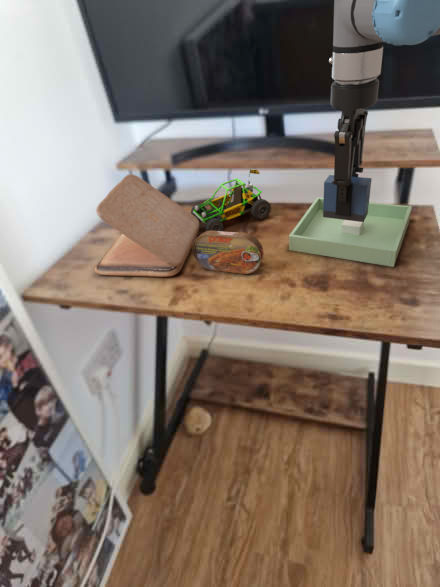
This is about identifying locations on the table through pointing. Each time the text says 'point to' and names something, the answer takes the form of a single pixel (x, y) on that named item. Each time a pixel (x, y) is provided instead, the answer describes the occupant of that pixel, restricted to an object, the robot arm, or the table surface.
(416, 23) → the robot arm
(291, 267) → the table surface
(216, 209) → the motor vehicle
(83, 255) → the table surface
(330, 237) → the tray
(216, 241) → the tin
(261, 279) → the table surface
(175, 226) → the case
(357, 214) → the eraser
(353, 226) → the chalk
